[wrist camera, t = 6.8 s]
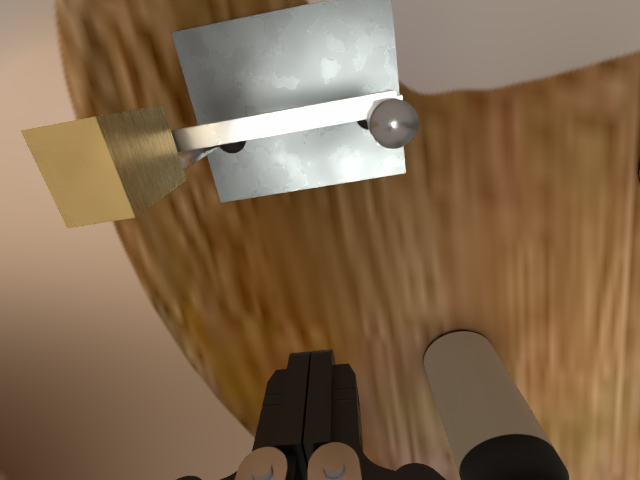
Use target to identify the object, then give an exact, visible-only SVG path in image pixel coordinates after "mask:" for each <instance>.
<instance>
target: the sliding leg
mask: <svg viewBox="0 0 640 480" xmlns="http://www.w3.org/2000/svg"><path fill="white" fill-rule="evenodd" d="M21 132H22V134H23V136H24V138H25V140H26V143H27V145H28V147H29V149H30V151H31V153H32V155H33V157H34V159H35V161H36V163H37V165H38V168H39V170H40V172H41V174H42V176H43V178H44V180H45V182H46V184H47V186H48V188H49V190H50V192H51V195H52V196H53V199H54V201H55V203H56V205H57V207H58V209H59V211H60V213H61V215H62V218H63V220H64V222H65V224H66V226H67V228H73V227H79V226H84V225H91V224H97V223H103V222H110V221H116V220H123V219H129V218H135V217H136V216H138V215H139V214H141V213H142V212H143V211H145V210H146V209H147V208H149V207H150V206H152V205H153V204H154V203H156V202H157V201H158V200H160V199H161V198H163V197H164V196H165V195H167V194H168V193H169V192H171V191H172V190H173V189H175V188H176V187H178V186H179V185H180V184H182V183H183V182H184V181H186V180H187V179H186V176H185V173H184V170H185V169H186V168H188V167H190V166H191V165H193V164H194V163H196V162H197V161H199V160H200V159H202V158H203V157H205V156H206V155H208V154H210V153H211V152H213V151H214V150H216V149H217V148H219V147H220V146H221V145H216V146H210V147H205V148H199V149H193V150H187V151H183V152H182V153H180V154H178V152H177V148H176V145H175V142H174V139H173V136H172V133H171V130H170V127H169V124H168V121H167V117H166V114H165V111H164V108H163V105H159V106H153V107H148V108H142V109H136V110H131V111H125V112H119V113H114V114H108V115H102V116H97V117H91V118H86V119H81V120H75V121H70V122H65V123H59V124H54V125H49V126H43V127H38V128H33V129H27V130H23V131H21Z"/></svg>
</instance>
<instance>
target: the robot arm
mask: <svg viewBox="0 0 640 480" xmlns="http://www.w3.org/2000/svg"><path fill="white" fill-rule="evenodd" d="M639 176H640V171H639ZM262 406H263V408H262V410H261V414H260V419H259V423H258V427H257V432H256V436H255V441H254V445H253V449H252V452H251V453H250V454H248V455H247V456H246V457H245V458H244V460H243V461H242V462H241V464H240V466H239V468H238V470H237V472H235V473H234V474H232V475H230V476H228V477H226V478H223V479H221V480H446V479H445V478H443V477H442V476H441V475H440V474H439V473H438V472H437V471H435V470H434V469H433V468H431V467H429V466H427V465H424V464H419V463H411V464H406V465H404V466H402V467H400V468H399V469H398V470H397V471H393V470H390V469H386V468H383V467H380V466H378V465H376V464H374V463H373V462H371V461H370V460H369V459H368V458H367V457H366V456H365V454H364V453H363V440H362V426H361V413H360V403H359V396H358V389H357V382H356V375H355V373H354V371H353V370H352V368H351V367H350V365H349V364H338V365H336V364H335V358H334V353H333V350H321V351H312V353H311V352H300V353H291V354H290V355H289V360H288V366H287V369H282V370H276V371H275V372H274V374H273V375H272V377H271V378H270V379H269V381H268V383H267V387H266V392H265V397H264V401H263V405H262ZM177 480H201V479H200V478H198V477H196V476H185V477H182V478H179V479H177Z"/></svg>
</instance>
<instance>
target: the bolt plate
mask: <svg viewBox="0 0 640 480" xmlns="http://www.w3.org/2000/svg"><path fill="white" fill-rule="evenodd" d="M171 34H172V37H173V40H174V44H175V47H176V51H177V54H178V58H179V61H180V64H181V68H182V71H183V75H184V78H185V82H186V85H187V88H188V92H189V95H190V99H191V102H192V106H193V109H194V112H195V116H196V119H197V123H198V125H194V126H188V127H183V128H177V129H172V130H171V133H172V136H173V139H174V142H175V145H176V148H177V152H182V151H187V150H193V149H199V148H205V147H210V146H216V145H221V146H220V147H219V148H217V149H216V150H214V151H213V152H211V153H210V154H208V155H207V157H208V160H209V164H210V167H211V171H212V174H213V177H214V181H215V184H216V188H217V191H218V195H219V198H220V201H221V203H222V202H228V201H234V200H240V199H247V198H253V197H259V196H265V195H272V194H278V193H284V192H290V191H297V190H303V189H309V188H315V187H322V186H328V185H334V184H340V183H346V182H353V181H359V180H365V179H371V178H378V177H384V176H390V175H396V174H403V173H406V170H405V157H404V146H405V145H407V144H408V143H409V142H410V141H411V140H412V139H413V138H414V136H415V135H416V133H417V130H418V125H419V120H418V115H417V112H416V110H415V109H414V108H413V106H412V105H411V104H409V103H408V102H406V101H403V98H402V95H400V94H399V82H398V69H397V56H396V44H395V32H394V19H393V7H392V0H326V1H322V2H317V3H312V4H307V5H302V6H297V7H292V8H288V9H283V10H278V11H273V12H268V13H263V14H258V15H254V16H249V17H244V18H239V19H234V20H229V21H224V22H220V23H215V24H210V25H205V26H200V27H195V28H190V29H186V30H181V31H176V32H171Z"/></svg>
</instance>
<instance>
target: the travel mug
mask: <svg viewBox="0 0 640 480" xmlns="http://www.w3.org/2000/svg"><path fill="white" fill-rule="evenodd" d="M424 368H425V371H426V374H427V377H428V380H429V383H430V386H431V389H432V392H433V395H434V398H435V401H436V404H437V407H438V411H439V414H440V417H441V420H442V423H443V426H444V429H445V432H446V435H447V438H448V441H449V444H450V447H451V450H452V454H453V457H454V460H455V463H456V466H457V469H458V472H459V475H460V478H461V480H569V474H568V471H567V469H566V467H565V465H564V464H563V462H562V461H561V459H560V457H559V456H558V454H557V452H556V451H555V449H554V447H553V446H552V444H551V442H550V441H549V439H548V437H547V436H546V434H545V432H544V431H543V429H542V427H541V426H540V424H539V422H538V421H537V419H536V417H535V416H534V414H533V412H532V411H531V409H530V407H529V406H528V404H527V402H526V401H525V399H524V398H523V396H522V394H521V393H520V391H519V389H518V388H517V386H516V384H515V383H514V381H513V379H512V378H511V376H510V374H509V373H508V371H507V369H506V368H505V366H504V364H503V363H502V361H501V359H500V358H499V356H498V354H497V353H496V351H495V349H494V348H493V346H492V344H491V343H490V342H489V341H488V340H487V339H486V338H485V337H483V336H482V335H480V334H477V333H474V332H468V331H459V332H453V333H449V334H447V335H444V336H442V337H440V338H439V339H437V340H436V341H435V342H433V343H432V344H431V345H430V347H429V348H428V350H427V351H426V353H425V356H424Z"/></svg>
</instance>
